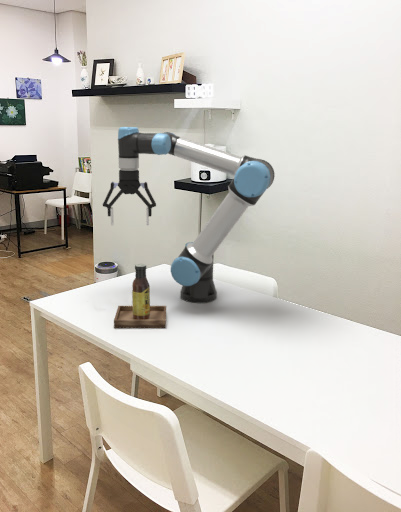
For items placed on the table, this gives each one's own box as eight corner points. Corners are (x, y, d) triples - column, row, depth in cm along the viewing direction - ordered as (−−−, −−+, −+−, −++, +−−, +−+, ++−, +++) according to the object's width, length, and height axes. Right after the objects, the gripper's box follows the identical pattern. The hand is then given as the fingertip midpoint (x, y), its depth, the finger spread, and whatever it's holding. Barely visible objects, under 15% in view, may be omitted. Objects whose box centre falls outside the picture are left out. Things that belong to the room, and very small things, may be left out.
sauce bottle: (148, 321, 175) (148, 268, 170) (131, 320, 175) (130, 267, 170) (150, 314, 182) (150, 262, 176) (134, 313, 182) (133, 262, 176)
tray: (166, 313, 186) (166, 305, 185) (165, 328, 172) (165, 320, 172) (118, 313, 185) (118, 305, 184) (114, 328, 172) (113, 320, 171)
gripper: (162, 168, 189) (162, 222, 194) (96, 168, 186) (98, 222, 192) (162, 170, 181) (162, 226, 187) (94, 170, 179) (96, 226, 185)
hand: (130, 224), depth 190 cm, fingers open, 13 cm apart
